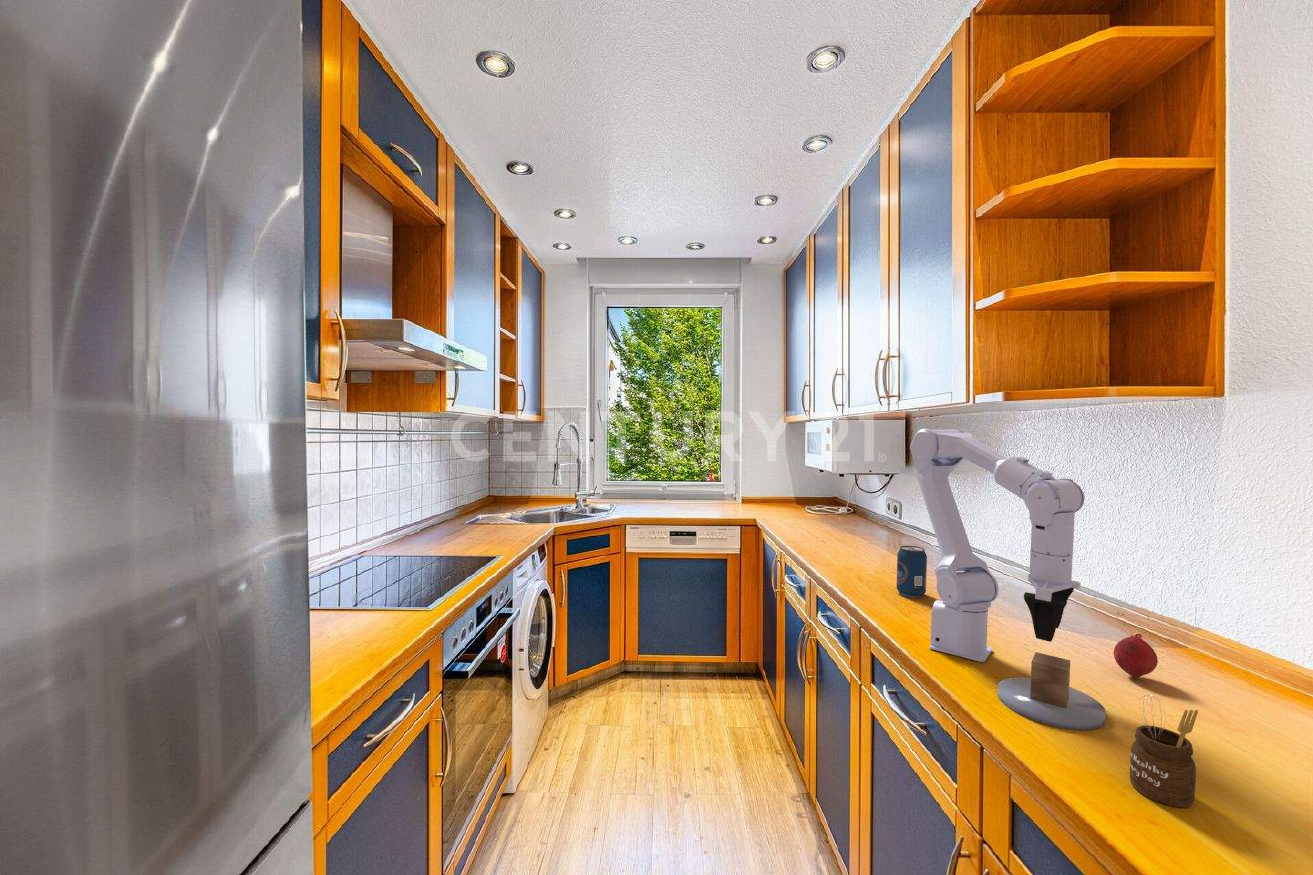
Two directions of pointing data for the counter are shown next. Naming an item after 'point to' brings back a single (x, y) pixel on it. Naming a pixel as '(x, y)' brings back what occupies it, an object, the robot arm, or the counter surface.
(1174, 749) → the utensil holder
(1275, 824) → the counter surface
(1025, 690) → the plate
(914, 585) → the soda can
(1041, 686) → the walnut stool block
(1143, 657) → the onion
